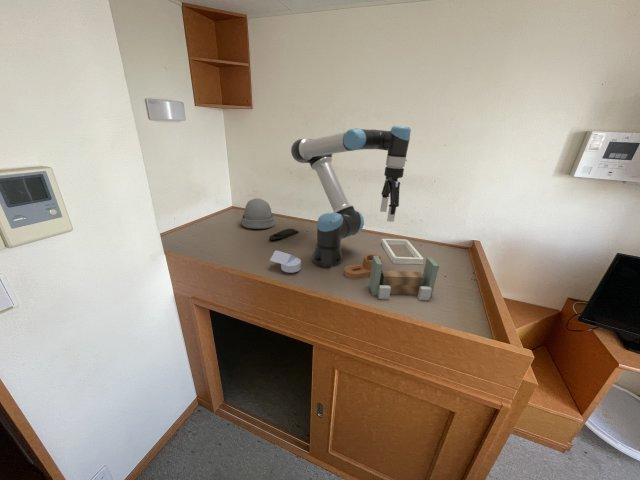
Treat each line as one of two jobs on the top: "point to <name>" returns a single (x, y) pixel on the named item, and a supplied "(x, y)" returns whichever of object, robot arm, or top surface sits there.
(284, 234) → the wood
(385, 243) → the frame
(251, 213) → the beanie hat
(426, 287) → the green fixture with posts
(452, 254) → the top surface
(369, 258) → the bracket
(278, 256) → the wedge on round base
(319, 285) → the top surface
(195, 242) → the top surface
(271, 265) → the top surface
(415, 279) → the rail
